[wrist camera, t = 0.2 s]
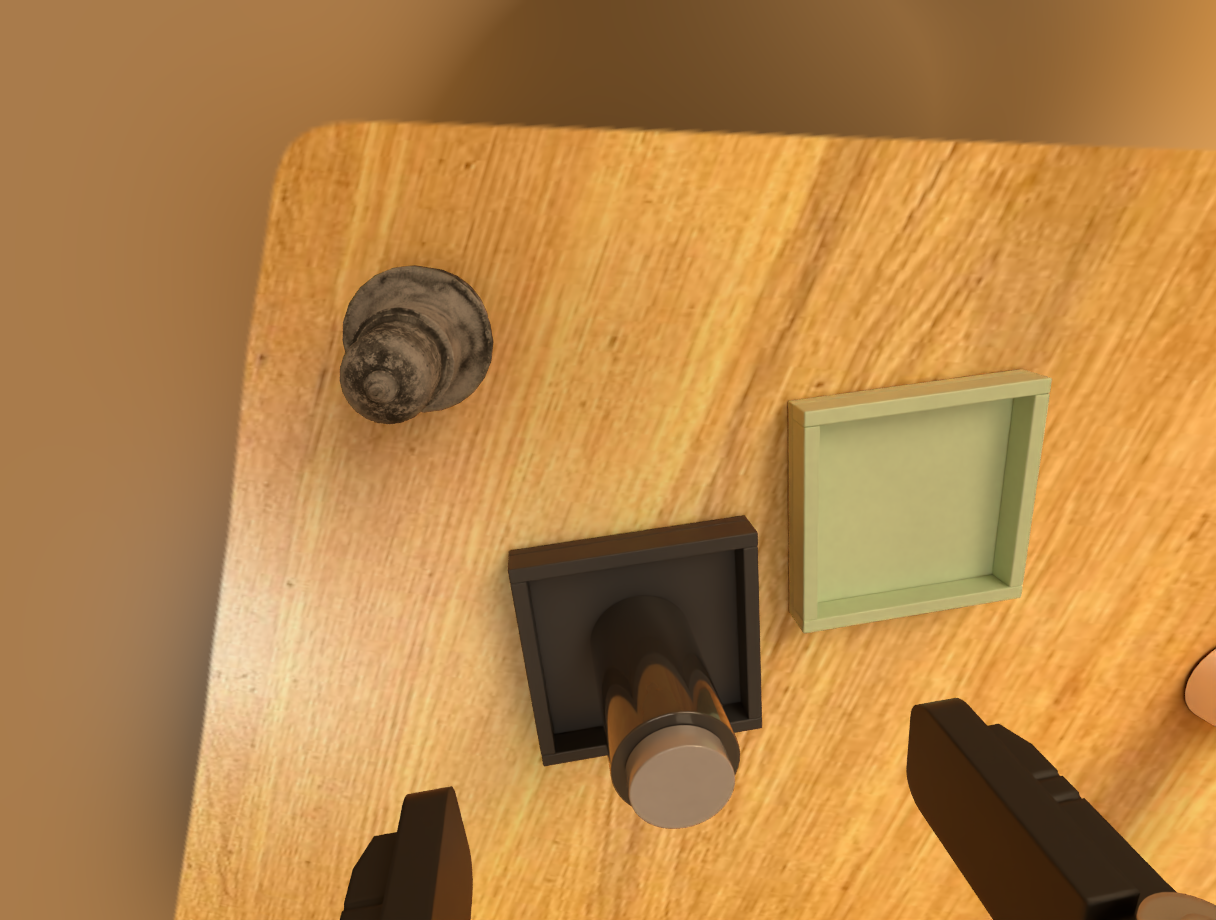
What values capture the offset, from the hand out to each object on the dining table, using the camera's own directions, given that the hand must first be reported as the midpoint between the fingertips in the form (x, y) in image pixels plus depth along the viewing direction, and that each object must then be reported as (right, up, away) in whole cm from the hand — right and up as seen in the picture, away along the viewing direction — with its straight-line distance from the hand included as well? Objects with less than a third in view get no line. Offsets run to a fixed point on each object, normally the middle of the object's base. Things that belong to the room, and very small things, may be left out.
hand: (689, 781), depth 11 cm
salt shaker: (-9, +12, +19) cm, 24 cm away
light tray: (+15, +4, +24) cm, 29 cm away
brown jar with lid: (0, -4, +25) cm, 25 cm away
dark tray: (0, -4, +25) cm, 26 cm away
